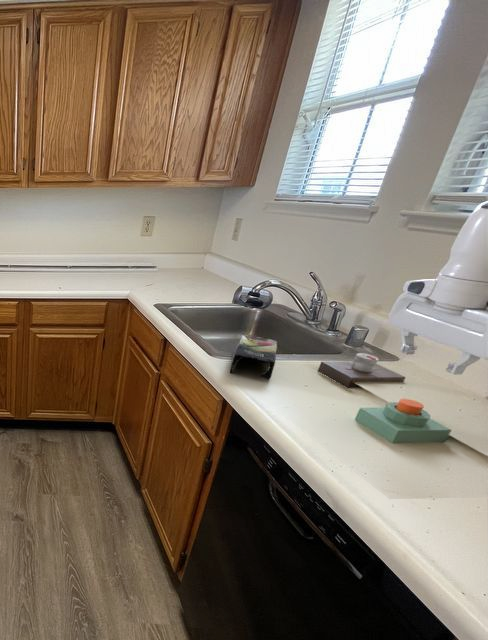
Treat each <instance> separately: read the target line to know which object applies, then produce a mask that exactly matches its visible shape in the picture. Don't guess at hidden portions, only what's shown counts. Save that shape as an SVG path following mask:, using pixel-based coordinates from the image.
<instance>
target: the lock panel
mask: <svg viewBox="0 0 488 640" xmlns="http://www.w3.org/2000/svg"><path fill="white" fill-rule="evenodd" d="M353 361H354V360H342V361H341V360H340V361H339V360H333V361H332V360H331V361H330V360H328V361H327V360H326V361H325V360H323V361H322V360H321V362H320V364H319V367H318V369H317V372H318V373H320V374H321V373H322V375H323V374H324V375H323V376H325V375H326V376H325V377H327V376H328V377H329V378H328V377H327V378H328V379H330V378H331V379H330V380H332V379H333V380H332V381H334V380H335V381H336V382H335V381H334V382H335V383H337V382H338V383H337V384H339V383H340V384H339V385H340V386H342V385H343V386H342V387H344V386H345V388H346V387H347V388H346V389H364V387H362V386H361V385H360V384H357V383H393V382H394V383H403V382H405V379H406V376H404V375H403V374H400V373H398V372H395V371H393V370H391V369H389V368H387V367H385V366H383V365H380V364H378V363H377V364H376V366H375V368H374V370H373V372H362V371H358V370H356V369H353V368H352V367H351V366H352V364H353Z"/></svg>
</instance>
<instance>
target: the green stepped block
mask: <svg viewBox="0 0 488 640" xmlns="http://www.w3.org/2000/svg"><path fill="white" fill-rule="evenodd" d="M398 403H399V401H392V402H391V401H390V402H388V403H387V404H385V407H380V406H379V407H359V409H358V411H357V413H356V415H355V418H354V420H355V421H356V422H358V423H359V424H362V426H365V428H367V429H369V430H371V431H372V432H373V433H376V434H377V435H379V436H380V437H382V438H383V439H385V440H387V441H388V442H389V443H390V444H417V443H419V444H421V443H422V444H423V443H425V444H426V443H445V442H446V440H447V439H448V437H449V436H450V433H451V432H452V429H450V428H449V427H447V426H445V425H443V424H441V423H440V422H437V421H436V420H434V419H432V418H431V414H430V413H429V412H428V411H426V410H424V409H422V411H421V413H420V415H411V414H407V413H404V412H401V411H399V410H397V409H396V407H397V405H398Z"/></svg>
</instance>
